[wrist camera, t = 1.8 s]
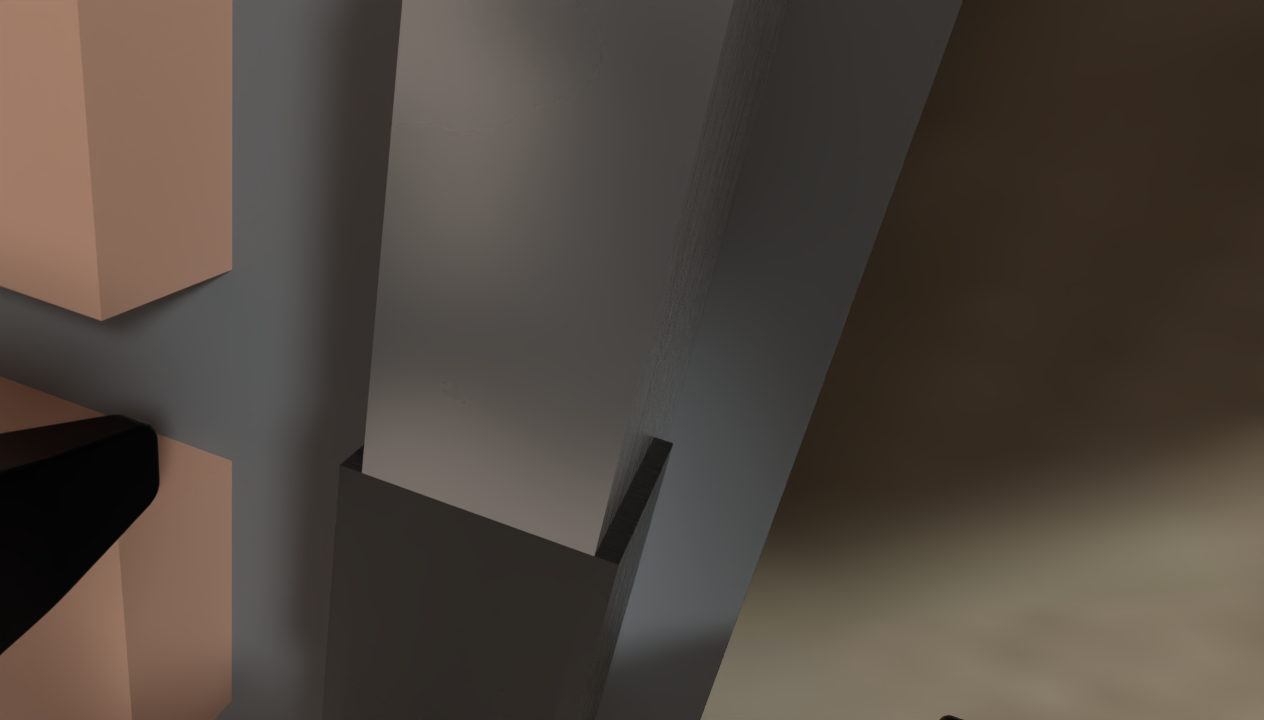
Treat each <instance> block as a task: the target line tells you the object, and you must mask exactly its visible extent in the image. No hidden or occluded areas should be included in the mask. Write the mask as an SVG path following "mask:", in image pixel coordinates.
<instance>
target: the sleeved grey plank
mask: <svg viewBox="0 0 1264 720" xmlns="http://www.w3.org/2000/svg"><path fill="white" fill-rule="evenodd" d="M788 3H789V0H402V11H401V23H400V35H399V46H398V58H397V69H396V81H395V93H394V104H393V116H392V128H391V139H390V151H389V163H388V174H387V186H386V197H385V209H384V221H383V232H382V244H381V256H380V267H379V279H378V291H377V302H376V314H375V326H374V337H373V349H372V360H371V372H370V384H369V395H368V407H367V419H366V430H365V442H364V445H363V446H361V447H360V448H359V449H358V450H357V451H356V452H354V453H353V454H352V455H351V456H350V457H348V458H347V459H346V460H345V461H344V462H343V463H341V464H340V468H339V482H338V496H337V510H336V524H335V538H334V552H333V566H332V581H331V595H330V609H329V623H328V637H327V651H326V665H325V679H324V693H323V707H322V720H595V718H596V714H597V711H598V707H599V704H600V700H601V697H602V693H603V690H604V686H605V683H606V679H607V676H608V672H609V669H610V665H611V662H612V658H613V655H614V651H615V647H616V644H617V640H618V637H619V633H620V630H621V626H622V623H623V619H624V616H625V612H626V609H627V605H628V602H629V598H630V595H631V591H632V588H633V584H634V581H635V577H636V573H637V570H638V566H639V563H640V559H641V556H642V552H643V549H644V545H645V542H646V538H647V535H648V531H649V528H650V524H651V521H652V517H653V514H654V510H655V507H656V503H657V500H658V496H659V492H660V489H661V485H662V482H663V478H664V475H665V471H666V468H667V464H668V461H669V457H670V454H671V450H672V447H673V443H671V442H668V441H667V437H668V434H669V430H670V427H671V423H672V419H673V416H674V412H675V409H676V405H677V401H678V398H679V394H680V391H681V387H682V384H683V380H684V376H685V373H686V369H687V366H688V362H689V358H690V355H691V351H692V348H693V344H694V340H695V337H696V333H697V330H698V326H699V323H700V319H701V315H702V312H703V308H704V305H705V301H706V297H707V294H708V290H709V287H710V283H711V280H712V276H713V272H714V269H715V265H716V262H717V258H718V254H719V251H720V247H721V244H722V240H723V237H724V233H725V229H726V226H727V222H728V219H729V215H730V211H731V208H732V204H733V201H734V197H735V194H736V190H737V186H738V183H739V179H740V176H741V172H742V168H743V165H744V161H745V158H746V154H747V150H748V147H749V143H750V140H751V136H752V133H753V129H754V125H755V122H756V118H757V115H758V111H759V107H760V104H761V100H762V97H763V93H764V90H765V86H766V82H767V79H768V75H769V72H770V68H771V64H772V61H773V57H774V54H775V50H776V47H777V43H778V39H779V36H780V32H781V29H782V25H783V21H784V18H785V14H786V11H787V7H788Z"/></svg>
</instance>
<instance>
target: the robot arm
mask: <svg viewBox="0 0 1264 720" xmlns="http://www.w3.org/2000/svg"><path fill="white" fill-rule="evenodd" d="M159 486H160V472H159V450H158V435H157V432H156V430H155V429H154V427H153V426H151V425H150V424H148V423H146V422H143V421H141V420H138V419H135V418H132V417H130V416H127V415H122V414H112V415H106V416H100V417H94V418H88V419H82V420H77V421H71V422H65V423H59V424H53V425H47V426H41V427H35V428H29V429H23V430H17V431H11V432H5V433H0V655H1V654H3V653H4V652H5V651H6V650H7V649H8V648H9V647H10V646H12V645H13V644H14V643H15V642H16V641H17V640H18V639H19V638H21V637H22V636H23V635H24V634H25V633H26V632H27V631H28V630H29V629H31V628H32V627H33V626H34V625H35V624H36V623H37V622H38V621H39V620H40V619H42V618H43V617H44V616H45V615H46V614H47V613H48V612H49V611H50V610H51V609H52V608H53V607H54V606H55V605H56V604H57V603H58V602H59V601H60V600H61V599H62V598H63V597H64V596H65V595H66V594H67V593H68V592H69V591H70V590H71V589H72V588H73V587H74V586H75V585H76V584H77V583H78V582H79V580H80V579H81V578H82V577H83V576H84V575H85V574H86V573H87V572H88V571H89V570H90V569H91V568H92V567H93V566H94V564H95V563H96V562H97V561H98V560H99V559H100V558H101V557H102V556H103V555H104V554H105V553H106V552H107V551H108V550H109V548H110V547H111V546H112V545H113V544H114V543H115V542H116V541H117V540H118V539H119V538H120V537H121V536H122V535H123V534H124V532H125V531H126V530H127V529H128V528H129V527H130V526H131V525H132V524H133V523H134V522H135V521H136V520H137V519H138V518H139V516H140V515H141V514H142V513H143V512H144V511H145V510H146V509H147V508H148V507H149V506H150V504H151V503H152V502H153V500H154V499H155V497H156V495H157V492H158V490H159ZM940 720H963V719H960V718H957V717H954V716H951V715H947V716H943V717H942V718H941V719H940Z"/></svg>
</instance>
